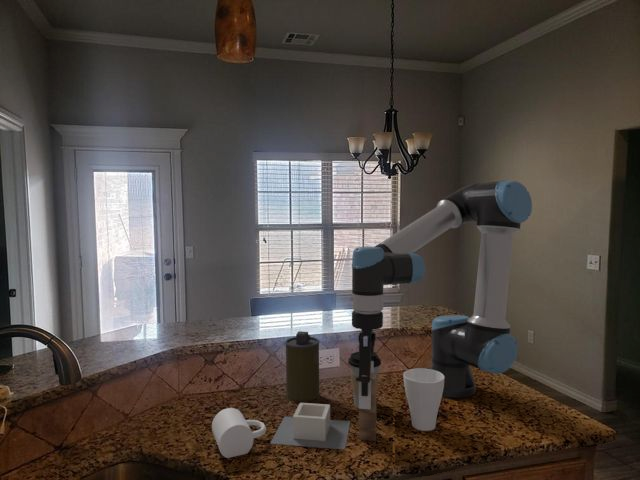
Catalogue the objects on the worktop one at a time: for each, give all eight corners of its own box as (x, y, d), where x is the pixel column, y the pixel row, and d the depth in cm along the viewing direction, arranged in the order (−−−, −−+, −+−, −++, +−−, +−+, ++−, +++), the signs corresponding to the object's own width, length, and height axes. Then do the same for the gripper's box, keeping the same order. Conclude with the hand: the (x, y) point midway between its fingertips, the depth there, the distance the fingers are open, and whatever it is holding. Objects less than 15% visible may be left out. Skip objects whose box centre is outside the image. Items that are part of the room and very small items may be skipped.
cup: (394, 423, 115) (394, 373, 115) (422, 412, 121) (422, 365, 120) (424, 440, 107) (425, 386, 106) (453, 428, 112) (453, 376, 112)
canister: (316, 406, 126) (315, 338, 125) (281, 403, 128) (280, 336, 127) (323, 391, 137) (322, 328, 136) (291, 388, 139) (290, 327, 138)
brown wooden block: (376, 435, 109) (376, 373, 108) (375, 443, 105) (375, 379, 104) (360, 434, 110) (360, 372, 109) (359, 442, 106) (358, 378, 105)
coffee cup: (365, 417, 119) (365, 363, 118) (341, 406, 126) (341, 355, 125) (387, 407, 125) (387, 355, 124) (363, 397, 132) (363, 348, 131)
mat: (350, 424, 115) (350, 421, 115) (344, 452, 101) (344, 449, 101) (284, 419, 118) (284, 416, 118) (270, 446, 104) (270, 443, 104)
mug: (219, 463, 98) (218, 429, 97) (212, 442, 107) (211, 410, 106) (270, 451, 102) (270, 418, 102) (259, 432, 112) (258, 401, 111)
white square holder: (330, 425, 113) (330, 404, 113) (325, 441, 105) (325, 418, 105) (300, 423, 114) (299, 402, 114) (293, 438, 106) (292, 416, 106)
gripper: (356, 300, 118) (355, 376, 120) (346, 322, 94) (345, 418, 95) (384, 301, 117) (383, 378, 118) (381, 323, 93) (380, 421, 94)
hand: (366, 396), depth 107 cm, fingers open, 13 cm apart
